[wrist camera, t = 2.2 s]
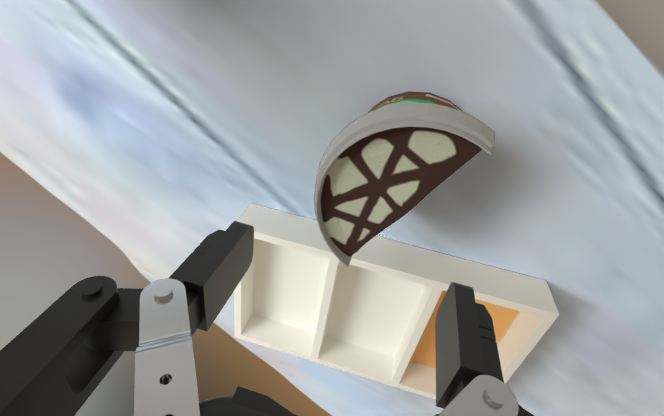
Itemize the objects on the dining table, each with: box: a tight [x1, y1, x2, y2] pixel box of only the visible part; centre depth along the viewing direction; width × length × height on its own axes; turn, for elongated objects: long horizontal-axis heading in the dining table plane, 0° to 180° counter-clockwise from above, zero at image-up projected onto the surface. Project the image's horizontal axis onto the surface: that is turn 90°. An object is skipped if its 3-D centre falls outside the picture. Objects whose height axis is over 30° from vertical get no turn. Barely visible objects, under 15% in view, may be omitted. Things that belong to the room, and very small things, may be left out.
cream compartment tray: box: [234, 203, 560, 400], centre depth 36 cm, size 29×17×4 cm, turn 81°
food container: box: [314, 92, 495, 268], centre depth 24 cm, size 12×6×10 cm, turn 141°
